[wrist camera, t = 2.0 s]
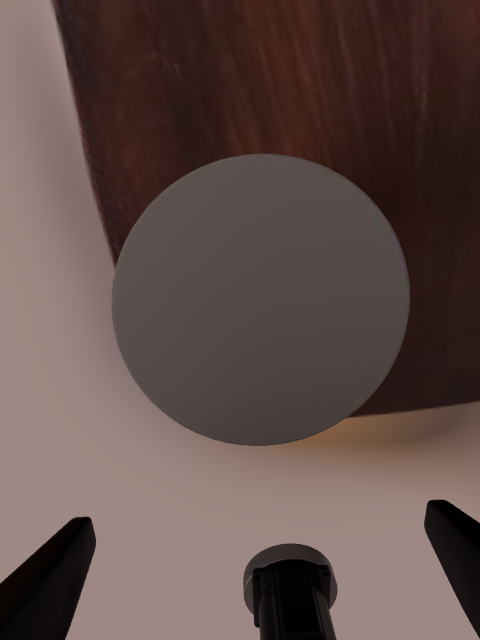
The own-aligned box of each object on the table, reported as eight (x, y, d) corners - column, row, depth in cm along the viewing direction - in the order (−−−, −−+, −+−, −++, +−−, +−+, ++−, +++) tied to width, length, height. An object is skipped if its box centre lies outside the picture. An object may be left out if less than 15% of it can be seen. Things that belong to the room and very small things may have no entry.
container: (240, 211, 18) (257, 47, 3) (291, 262, 19) (484, 311, 4) (192, 265, 19) (37, 328, 4) (243, 312, 19) (264, 500, 5)
